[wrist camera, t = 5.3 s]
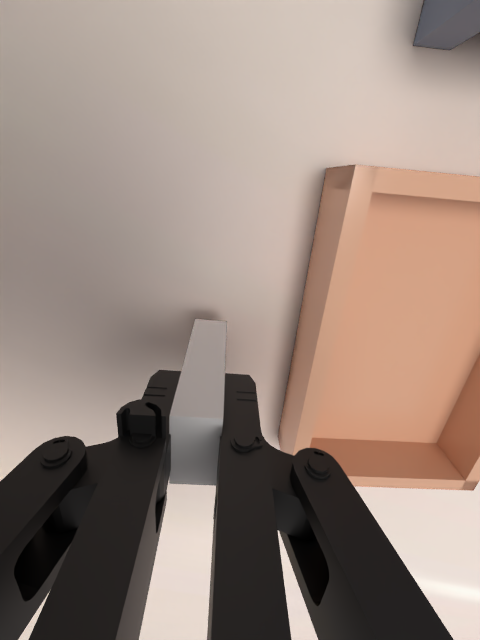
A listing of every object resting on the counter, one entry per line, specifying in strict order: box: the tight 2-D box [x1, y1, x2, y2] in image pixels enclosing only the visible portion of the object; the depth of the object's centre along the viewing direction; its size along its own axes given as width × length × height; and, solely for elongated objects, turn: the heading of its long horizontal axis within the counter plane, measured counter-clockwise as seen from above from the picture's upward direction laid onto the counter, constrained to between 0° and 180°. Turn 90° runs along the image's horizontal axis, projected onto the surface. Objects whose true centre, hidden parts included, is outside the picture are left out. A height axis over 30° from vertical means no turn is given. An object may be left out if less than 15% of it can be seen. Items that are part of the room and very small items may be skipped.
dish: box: [278, 165, 480, 490], centre depth 16 cm, size 11×16×4 cm
